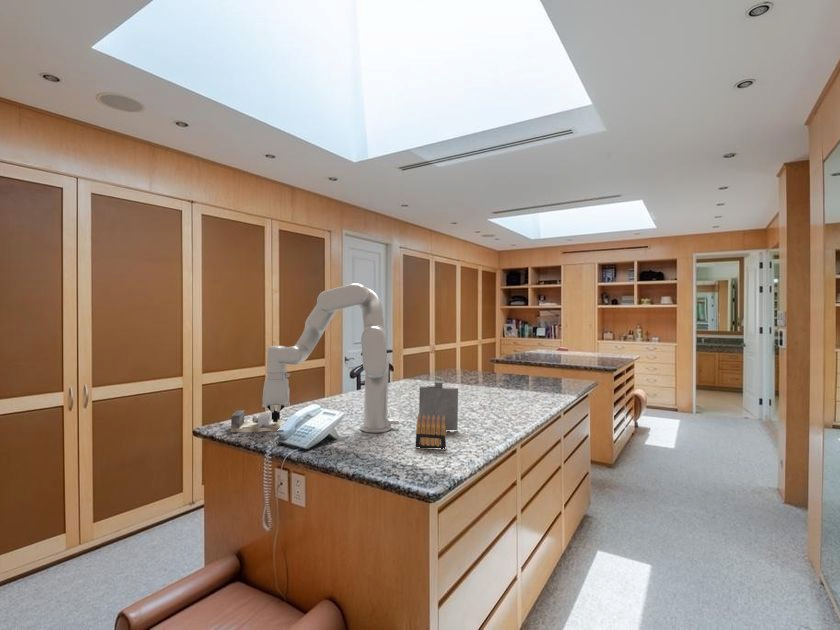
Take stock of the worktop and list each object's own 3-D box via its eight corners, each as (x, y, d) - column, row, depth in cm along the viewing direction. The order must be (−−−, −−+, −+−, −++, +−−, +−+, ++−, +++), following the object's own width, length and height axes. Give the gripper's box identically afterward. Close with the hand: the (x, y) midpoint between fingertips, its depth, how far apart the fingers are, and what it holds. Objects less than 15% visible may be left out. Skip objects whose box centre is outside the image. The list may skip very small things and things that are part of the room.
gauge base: (287, 424, 181) (287, 409, 181) (284, 431, 171) (284, 414, 171) (236, 426, 177) (236, 410, 177) (230, 432, 167) (231, 415, 167)
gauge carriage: (271, 422, 178) (271, 412, 178) (267, 428, 169) (267, 417, 169) (254, 422, 177) (254, 412, 177) (250, 428, 168) (250, 418, 168)
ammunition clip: (415, 448, 152) (415, 414, 152) (416, 446, 154) (416, 413, 154) (445, 450, 151) (446, 415, 151) (445, 448, 153) (446, 414, 153)
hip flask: (457, 430, 177) (458, 381, 177) (456, 433, 173) (457, 383, 173) (419, 428, 180) (420, 380, 180) (417, 430, 176) (418, 381, 176)
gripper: (296, 374, 180) (295, 418, 180) (258, 375, 178) (258, 419, 178) (294, 377, 173) (293, 423, 173) (255, 377, 170) (254, 424, 170)
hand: (275, 421), depth 175 cm, fingers closed
